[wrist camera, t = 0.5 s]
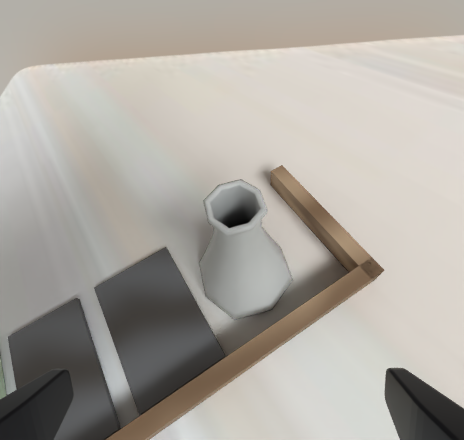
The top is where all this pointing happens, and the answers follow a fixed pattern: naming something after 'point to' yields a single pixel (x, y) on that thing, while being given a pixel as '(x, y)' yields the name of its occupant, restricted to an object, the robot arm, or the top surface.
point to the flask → (241, 253)
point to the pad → (2, 383)
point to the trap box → (170, 335)
